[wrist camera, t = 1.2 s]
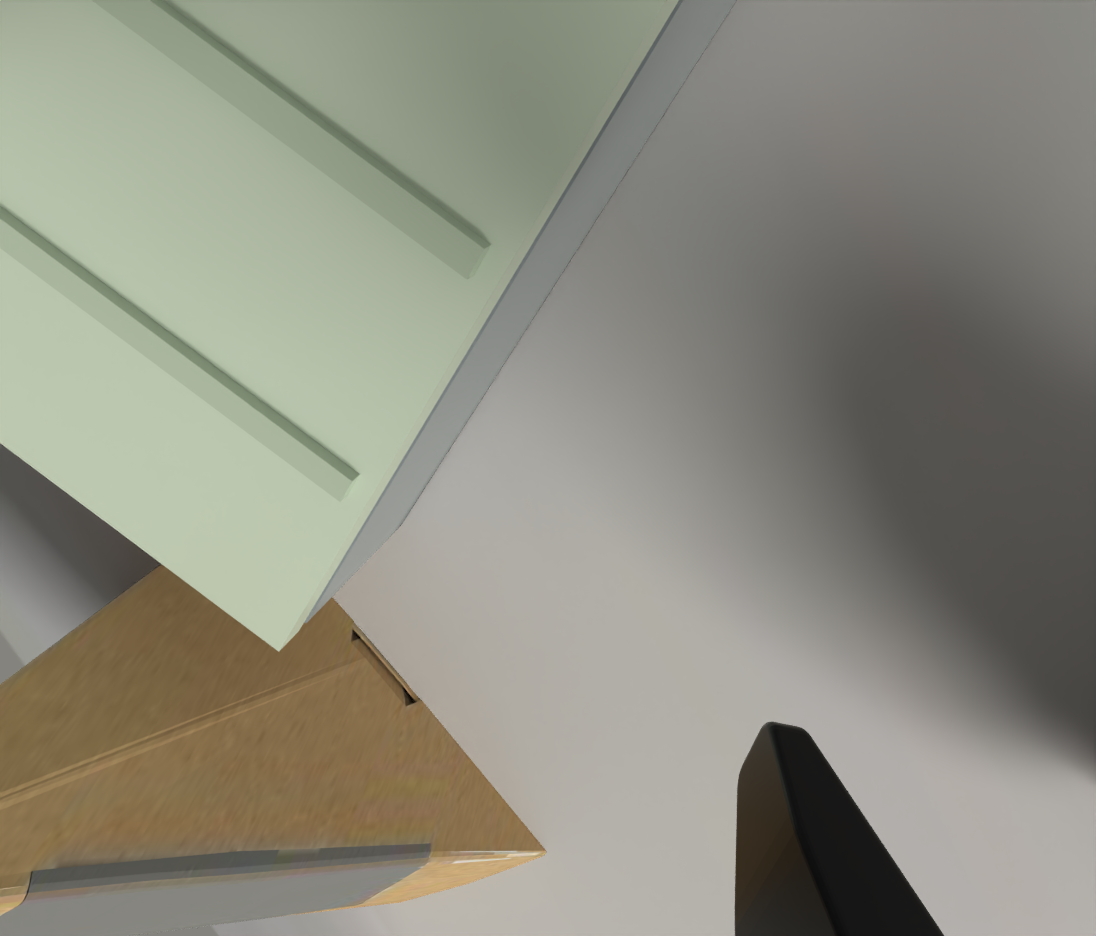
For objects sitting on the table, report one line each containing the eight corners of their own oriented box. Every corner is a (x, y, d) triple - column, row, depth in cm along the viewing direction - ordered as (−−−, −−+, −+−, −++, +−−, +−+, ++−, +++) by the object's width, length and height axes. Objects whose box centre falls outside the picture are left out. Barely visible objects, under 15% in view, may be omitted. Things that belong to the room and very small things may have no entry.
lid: (223, -822, 11) (-90, -1220, 7) (888, -332, 10) (890, -499, 7) (-20, 367, 21) (-194, 433, 18) (313, 616, 21) (203, 730, 18)
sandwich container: (394, 905, 33) (93, 1445, 21) (118, 603, 31) (-415, 1005, 18) (559, 853, 29) (305, 1498, 16) (251, 495, 26) (-330, 927, 14)
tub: (323, -353, 16) (134, -479, 12) (757, -32, 16) (713, -51, 12) (118, 314, 25) (-32, 371, 21) (400, 525, 25) (305, 623, 21)
